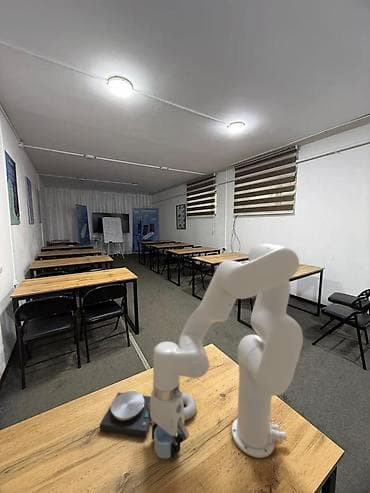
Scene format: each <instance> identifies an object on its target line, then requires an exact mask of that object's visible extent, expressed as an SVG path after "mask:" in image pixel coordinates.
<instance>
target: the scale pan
mask: <svg viewBox="0 0 370 493" xmlns="http://www.w3.org/2000/svg"><path fill="white" fill-rule="evenodd" d="M121 393H122V394H120V395H118V396H117V395H116V396H117V397H116V396H115V397H116V398H115V397H114V399H113V400H112V402H111V404H110V406H111V414H112V416H113V417H114V418H116V419H118V420H129V419H132V418H134V417H136V416H137V415H139V414H140V413H141V411H142V410H143V408H144V398H143V396H144V395H142V393H140V392H139V391H135V390H127V391H124V392H121Z"/></svg>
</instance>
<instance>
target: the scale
mask: <svg viewBox="0 0 370 493" xmlns="http://www.w3.org/2000/svg"><path fill="white" fill-rule="evenodd" d="M122 393H123V392H117V394H116V396H115V397H114V399H115V398H116V397H117V396H118V395H120V394H122ZM142 396H143V398H144V408H143V410H142V411H141V413H140V414H139V415H137V416H136V417H134V418H132V419H129V420H118V419H116V418H114V417H113V416H112V414H111V405H110V406H109V408H108V409H107V410H106V413H105V414H104V416H103V418H102V420H101V421H100V423H99V432H101V433H108V434H113V435H114V434H115V435H121V436H128V437H135V438H141V439H147V436H148V433H149V430H150V427H151V424H150V422H151V420H150V418H149V416H148V414H149V413H148V412H147V409H146V405H148V404H149V403H150V399H151V395H149V396H148V395H142Z"/></svg>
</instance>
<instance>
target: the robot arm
mask: <svg viewBox="0 0 370 493" xmlns="http://www.w3.org/2000/svg"><path fill="white" fill-rule="evenodd" d="M299 267H300V261H299V257H298V255H297V253H296V252H295V251H294V250H292V249H291V248H289V247H286V246H281V245H275V244H268V243H257V244H254V245H253V246H252V247H250V249H249V252H248V261H247V262H244V263H241V262H239V261H237V260H231V259H229V260H227V259H226V260H223V261H222V262H220V263H219V265H218V266H217V268H216V269H215V271H214V272H213V275H212V278H211V280H210V282H209V285H208V286H207V289H206V290H205V293H204V296H203V298H202V300H201V302H200V304H199V306H198V307H196V309H195V310H194V311H193V312H192V313H191V315H190V316H189V318H188V319H187V320H186V323H185V325H184V327H183V329H182V331H181V334H180V335H179V336H180V337H179V339H178V344H176V343H175V342H172V341H162V342H159V343H158V344H156V345H155V347H154V349H153V356H152V358H153V359H152V360H153V363H152V364H153V366H152V368H153V369H152V372H153V373H152V375H153V376H152V379H153V380H152V390H151V392H150V393H151V394H150V397H151V399H150V403H149V404H148V405H146V409H147V412H148V413H149V414H148V416H149V418H150V420H151V422H150V427H151V439H152V440H153V441H154V432H155V429H156V427H157V426H158V425H159V426H160V427H161V428H162V429H163V430H165V431H166V432H167V433H168V434H170V435H171V437H172V441H173V442H172V444H171V456H172V457H171V458H173V459H174V458H175V457H176V455H178V454H179V453H180V451H181V444H182V443H183V442H185V441H186V440H188V438H190V433H189V431H188V429H187V428H186V425H185V420H184V408H185V406H184V405H185V404H183V398H182V393H183V392H182V391H181V390H180V383H181V382H180V379H181V377H185V378H190V379H191V378H193V379H197V378H202V377H204V376H205V375H206V374H207V373H208V371H209V369H210V361H209V357H208V355H207V353H206V350H205V348H204V344H203V341H204V339H205V337H206V334H207V332H208V331H209V328H210V327H211V326H212V325H214V323H217V322H220V323H221V322H225V321H227V320H228V318H229V316H230V314H231V312H232V310H233V307H234V305H235V303H236V302H237V299H239V300H244V299H245V300H246V299H248V298H253V297H255V296H256V298H255V301H254V305H253V308H252V311H251V315H250V325H251V327H252V329H253V330H254V332H255V333H256V334H247V335H245V336H244V337H242V338H241V339H240V341H239V343H238V347H237V362H238V393H237V394H238V395H237V417H236V418H235V419H234V420H233V422H232V424H231V436H232V439H233V441H234V443H235V445H236V446H237V447H238V448H239V449H240V450H241V451H242V452H243V453H245V454H246V455H248V456H250V457H253V458H256V459H257V458H259V459H260V458H266V457H269V456H270V455H271V454H272V453H273V452H274V449H275V445H276V444H275V442H276V440H280V441H287V440H288V437H287V432H286V431H281V430H280V425H279V424H272V423H271V411H272V396H274V397H275V396H280V395H282V394H283V393H284V392H286V391H287V390H288V388H289V387H290V385H291V383H292V381H293V378H294V375H295V373H296V372H295V371H296V368H297V365H298V361H299V359H300V355H301V351H302V347H303V342H304V335H303V329H302V328H301V326H300V324H299V323H298V322H297V321H296V320H295V319H294V318H293V317H291V316H290V315H288V314H287V307H288V303H289V298H290V294H291V282H290V279H291V278H293V277H294V276H295V275H296V273H297V272H298V270H299ZM176 432H177V434H178V435H177V436H175V435H176Z"/></svg>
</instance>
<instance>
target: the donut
mask: <svg viewBox="0 0 370 493" xmlns="http://www.w3.org/2000/svg"><path fill="white" fill-rule="evenodd" d="M182 398H183V404H184V405H185V406H184V421H189V420H190V419H191V418H193V416H194V415H195V414H196V412H197V402H196V400H195V398H194V397H193V396H192V395H190V394H189V393H186V392H182Z"/></svg>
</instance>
